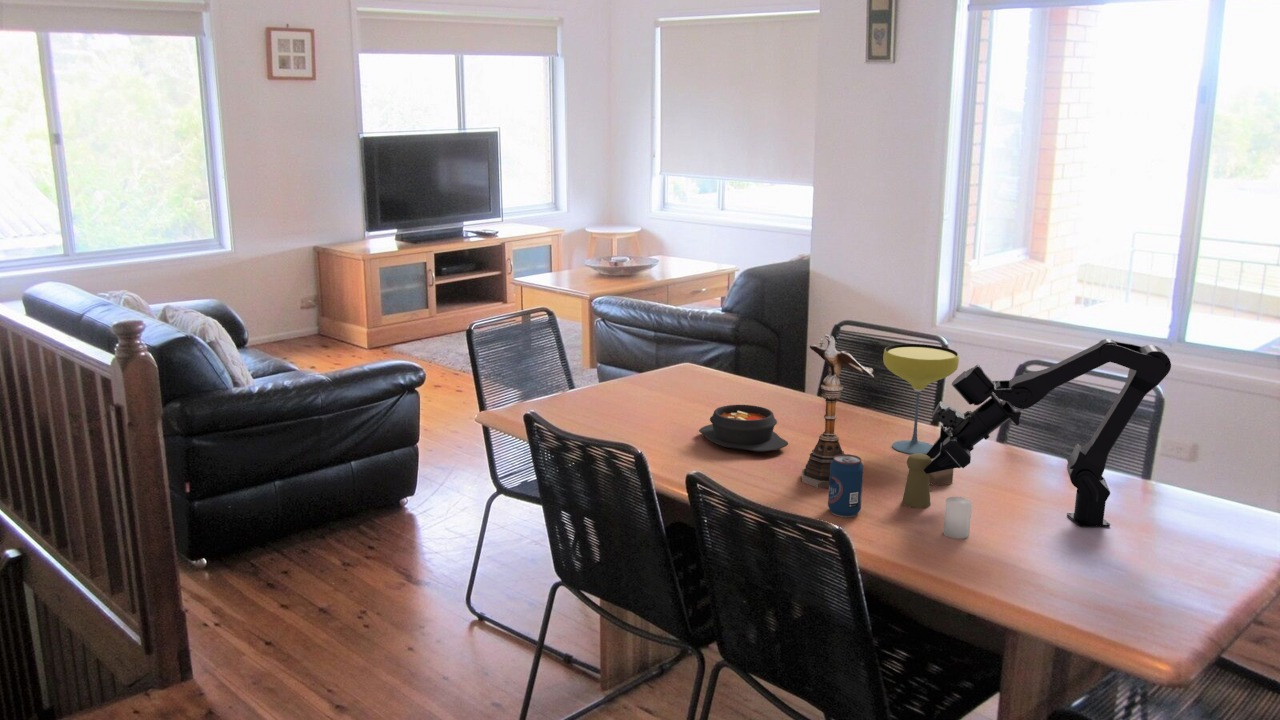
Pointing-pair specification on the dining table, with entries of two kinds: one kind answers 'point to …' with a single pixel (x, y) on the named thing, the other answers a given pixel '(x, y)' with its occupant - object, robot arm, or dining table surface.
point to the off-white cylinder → (957, 517)
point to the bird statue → (829, 413)
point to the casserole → (744, 428)
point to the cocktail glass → (919, 377)
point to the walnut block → (941, 477)
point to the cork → (917, 482)
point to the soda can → (845, 485)
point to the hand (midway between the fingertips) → (925, 465)
